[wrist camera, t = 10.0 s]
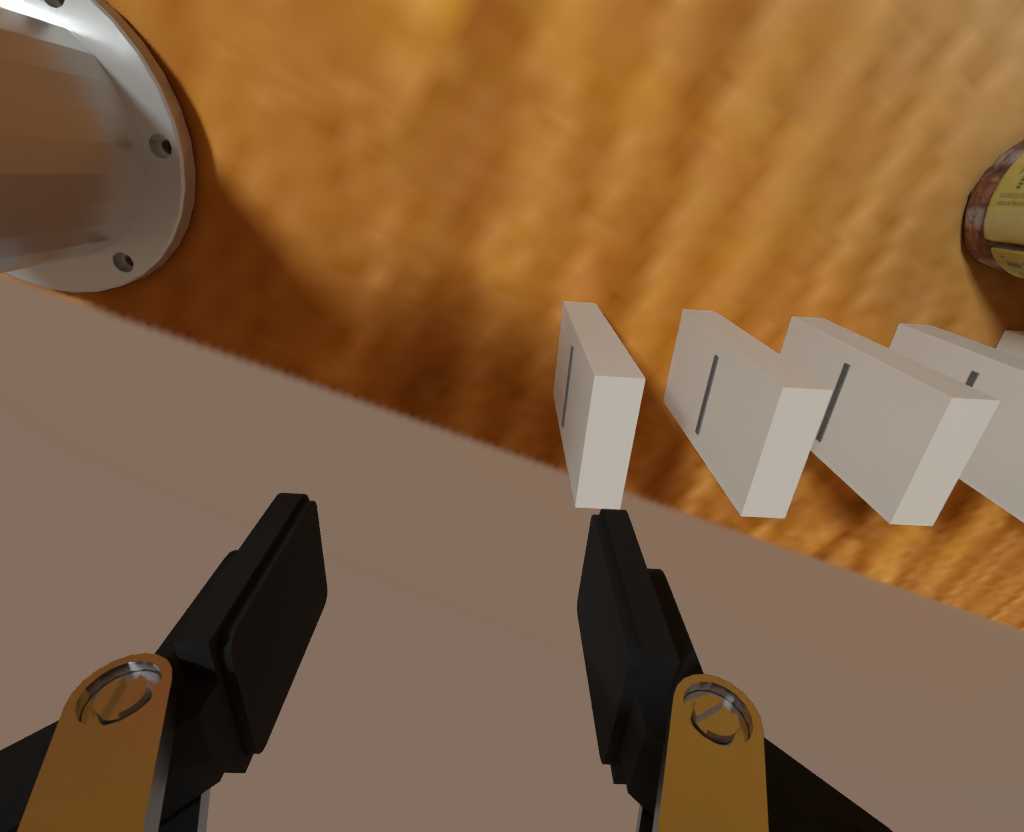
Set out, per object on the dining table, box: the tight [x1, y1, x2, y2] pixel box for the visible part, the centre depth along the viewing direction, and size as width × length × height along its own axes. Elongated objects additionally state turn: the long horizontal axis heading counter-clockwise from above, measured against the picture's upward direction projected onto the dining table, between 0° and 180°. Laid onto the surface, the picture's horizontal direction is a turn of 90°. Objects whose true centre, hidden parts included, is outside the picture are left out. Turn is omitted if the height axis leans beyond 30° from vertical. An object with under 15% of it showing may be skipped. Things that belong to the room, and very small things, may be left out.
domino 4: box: [889, 323, 1024, 523], centre depth 22 cm, size 2×5×10 cm, turn 176°
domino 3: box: [780, 316, 1000, 526], centre depth 22 cm, size 2×5×10 cm, turn 176°
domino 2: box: [663, 309, 833, 518], centre depth 21 cm, size 2×5×10 cm, turn 176°
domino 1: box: [553, 301, 645, 510], centre depth 21 cm, size 2×5×10 cm, turn 176°
